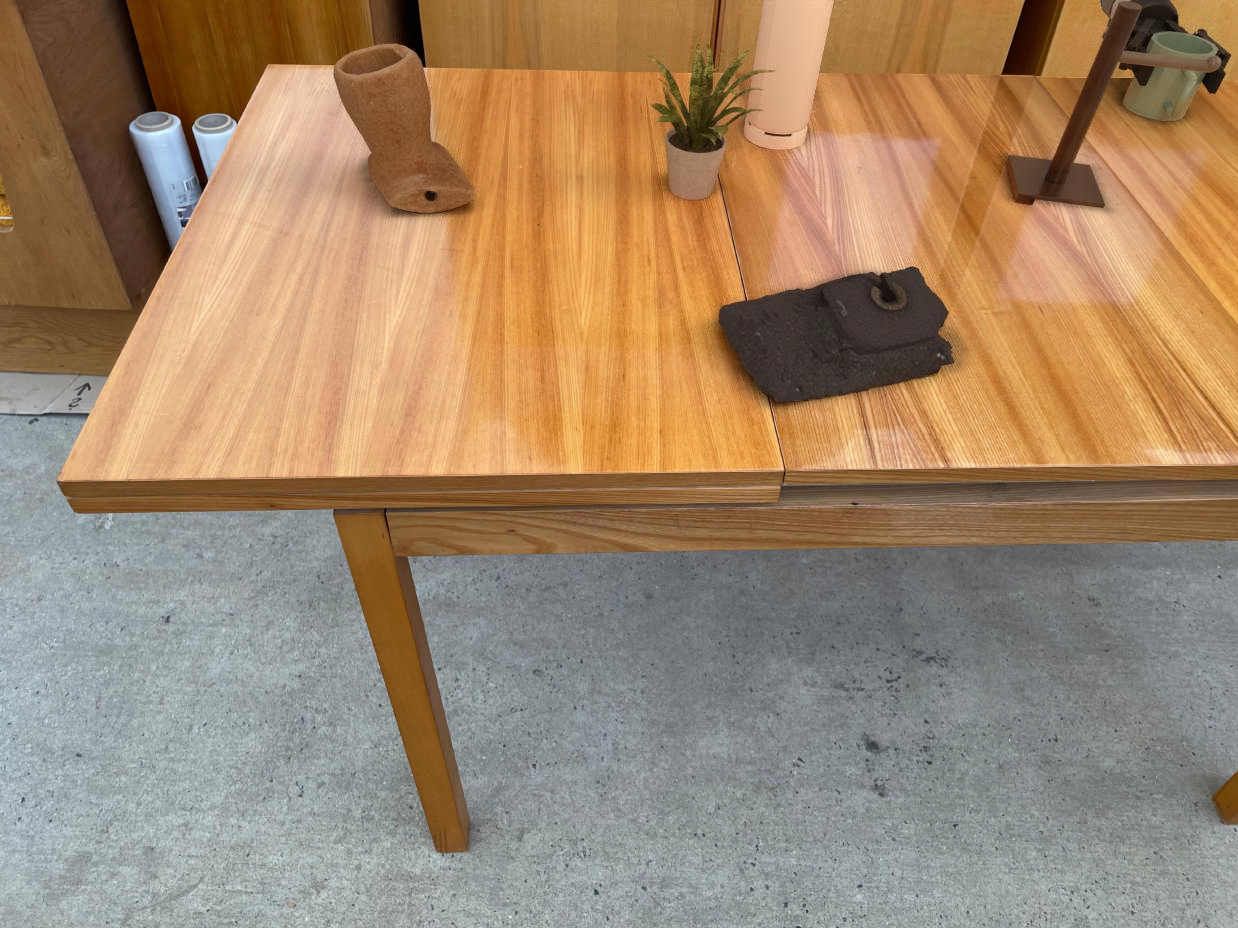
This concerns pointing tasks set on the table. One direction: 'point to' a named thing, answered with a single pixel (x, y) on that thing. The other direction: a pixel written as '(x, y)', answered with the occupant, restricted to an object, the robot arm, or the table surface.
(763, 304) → the dark brown flat slab
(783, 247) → the table surface
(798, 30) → the bottle
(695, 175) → the house plant
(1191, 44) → the mug
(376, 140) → the brown clay vessel
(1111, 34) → the mug stand
